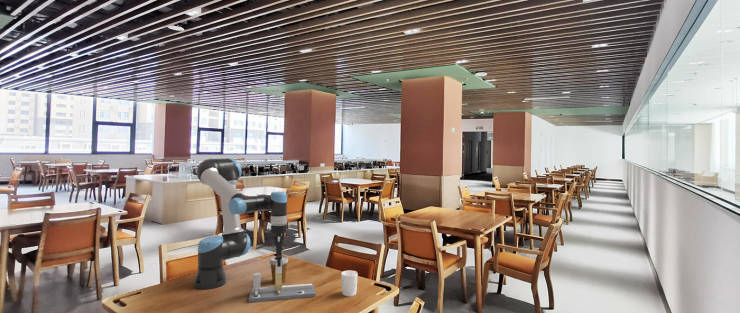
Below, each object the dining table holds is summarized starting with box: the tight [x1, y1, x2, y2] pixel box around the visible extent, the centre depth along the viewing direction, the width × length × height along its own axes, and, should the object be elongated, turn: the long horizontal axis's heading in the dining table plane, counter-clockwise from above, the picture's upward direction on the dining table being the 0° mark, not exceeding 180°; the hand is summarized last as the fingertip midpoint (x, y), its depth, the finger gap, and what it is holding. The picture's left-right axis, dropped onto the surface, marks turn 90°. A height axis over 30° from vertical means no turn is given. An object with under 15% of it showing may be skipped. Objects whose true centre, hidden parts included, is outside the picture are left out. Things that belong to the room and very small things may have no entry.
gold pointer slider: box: [274, 262, 283, 294], centre depth 170 cm, size 3×8×13 cm, turn 14°
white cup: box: [340, 269, 359, 297], centre depth 172 cm, size 8×8×10 cm
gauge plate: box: [248, 272, 317, 303], centre depth 171 cm, size 30×12×10 cm, turn 104°
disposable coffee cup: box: [269, 255, 289, 284], centre depth 188 cm, size 10×10×12 cm
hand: (279, 268), depth 172 cm, fingers open, 13 cm apart
